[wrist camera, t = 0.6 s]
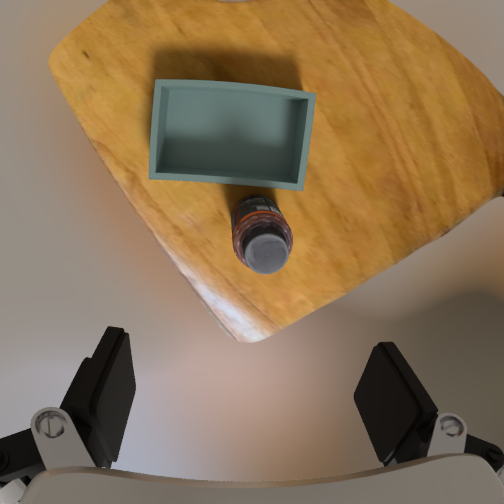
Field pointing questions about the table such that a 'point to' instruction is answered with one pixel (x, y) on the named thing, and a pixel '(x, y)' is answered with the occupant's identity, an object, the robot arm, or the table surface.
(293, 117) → the box
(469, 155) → the table surface
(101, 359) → the robot arm
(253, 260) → the supplement bottle
